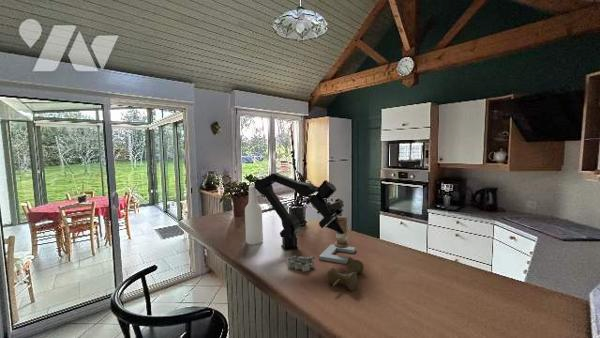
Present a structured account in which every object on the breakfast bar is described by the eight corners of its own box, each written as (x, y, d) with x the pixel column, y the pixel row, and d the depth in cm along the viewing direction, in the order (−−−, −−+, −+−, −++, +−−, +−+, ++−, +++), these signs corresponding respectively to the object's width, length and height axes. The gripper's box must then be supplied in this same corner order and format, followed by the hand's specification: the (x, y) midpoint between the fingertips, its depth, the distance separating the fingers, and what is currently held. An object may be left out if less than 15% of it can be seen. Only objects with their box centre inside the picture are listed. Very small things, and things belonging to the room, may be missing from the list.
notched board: (319, 259, 118) (319, 256, 118) (331, 247, 132) (331, 244, 132) (345, 263, 112) (345, 260, 112) (355, 250, 127) (355, 247, 127)
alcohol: (261, 238, 147) (259, 184, 145) (264, 243, 139) (262, 186, 137) (245, 240, 145) (242, 185, 142) (247, 246, 136) (244, 187, 134)
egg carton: (316, 266, 111) (316, 257, 111) (305, 273, 105) (305, 263, 105) (295, 260, 118) (295, 251, 117) (284, 267, 112) (284, 257, 111)
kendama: (369, 275, 103) (346, 298, 87) (346, 270, 108) (321, 290, 92) (369, 260, 103) (346, 280, 86) (346, 255, 108) (320, 273, 92)
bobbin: (339, 249, 117) (339, 220, 116) (331, 244, 123) (331, 216, 122) (351, 246, 120) (351, 218, 119) (343, 242, 125) (343, 215, 124)
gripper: (325, 197, 113) (351, 226, 109) (339, 190, 129) (362, 215, 125) (308, 214, 117) (333, 242, 113) (324, 205, 133) (345, 230, 129)
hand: (344, 231), depth 120 cm, fingers closed on bobbin, 5 cm apart
